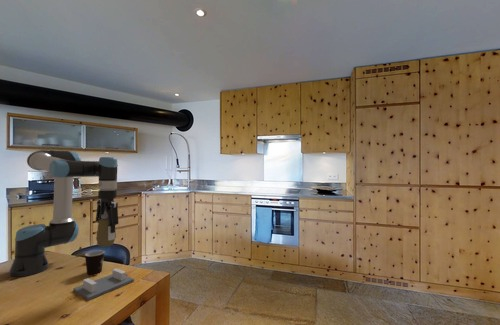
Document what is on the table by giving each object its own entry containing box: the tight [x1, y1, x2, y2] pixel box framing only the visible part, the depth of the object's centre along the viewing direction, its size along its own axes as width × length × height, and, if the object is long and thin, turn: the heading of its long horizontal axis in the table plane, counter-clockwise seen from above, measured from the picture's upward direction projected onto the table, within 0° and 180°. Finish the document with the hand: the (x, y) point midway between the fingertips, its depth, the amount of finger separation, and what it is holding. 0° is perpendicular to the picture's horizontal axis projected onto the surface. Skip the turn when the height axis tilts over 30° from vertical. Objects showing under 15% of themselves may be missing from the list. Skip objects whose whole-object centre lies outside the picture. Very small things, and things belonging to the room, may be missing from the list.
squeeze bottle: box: [95, 210, 117, 248], centre depth 111 cm, size 8×8×18 cm
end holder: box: [72, 267, 135, 301], centre depth 111 cm, size 14×20×5 cm
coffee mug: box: [84, 250, 105, 276], centre depth 126 cm, size 12×9×10 cm
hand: (106, 238), depth 111 cm, fingers closed on squeeze bottle, 8 cm apart
